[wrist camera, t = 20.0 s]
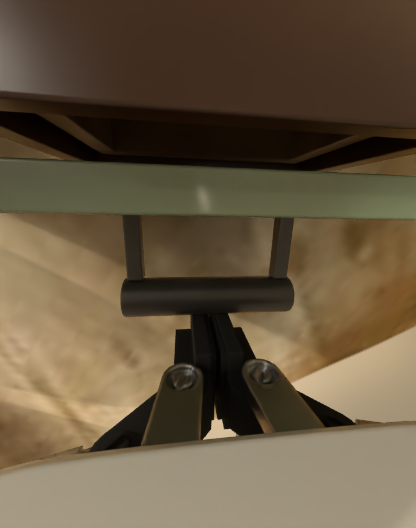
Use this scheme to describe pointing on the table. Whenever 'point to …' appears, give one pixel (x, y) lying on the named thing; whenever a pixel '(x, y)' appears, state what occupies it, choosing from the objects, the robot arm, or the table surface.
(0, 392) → the table surface
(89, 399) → the table surface
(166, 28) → the cabinet
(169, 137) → the drawer
